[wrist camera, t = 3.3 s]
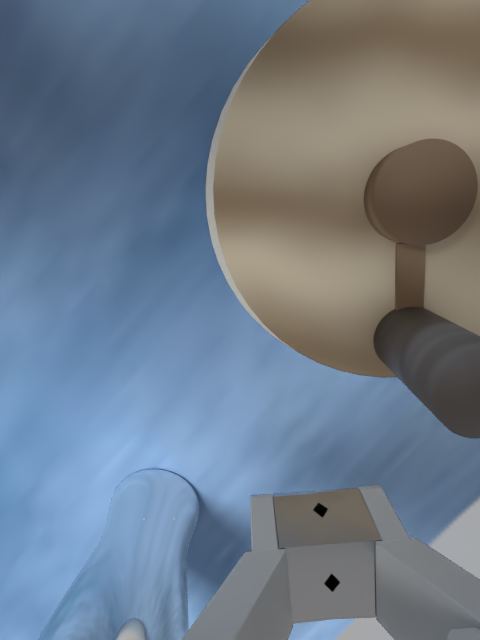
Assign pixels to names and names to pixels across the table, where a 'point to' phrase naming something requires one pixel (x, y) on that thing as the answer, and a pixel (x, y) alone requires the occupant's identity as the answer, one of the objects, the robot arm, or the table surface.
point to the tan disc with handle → (363, 193)
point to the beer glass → (134, 566)
